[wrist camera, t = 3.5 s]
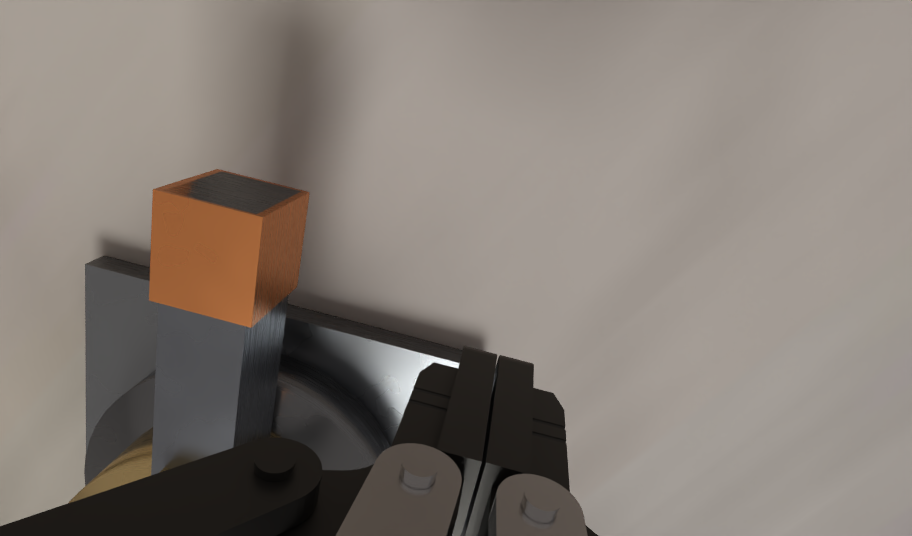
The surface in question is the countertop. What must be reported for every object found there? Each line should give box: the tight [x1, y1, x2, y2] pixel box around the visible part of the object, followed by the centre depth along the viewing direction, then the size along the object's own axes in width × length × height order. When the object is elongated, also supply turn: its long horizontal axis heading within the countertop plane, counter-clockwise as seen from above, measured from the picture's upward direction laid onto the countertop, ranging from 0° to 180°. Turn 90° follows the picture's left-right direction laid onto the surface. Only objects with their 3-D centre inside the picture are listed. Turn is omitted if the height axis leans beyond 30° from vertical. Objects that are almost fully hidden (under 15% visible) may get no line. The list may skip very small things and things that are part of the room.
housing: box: [85, 256, 463, 485], centre depth 21 cm, size 15×15×7 cm
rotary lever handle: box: [69, 169, 309, 503], centre depth 18 cm, size 18×9×4 cm, turn 168°
